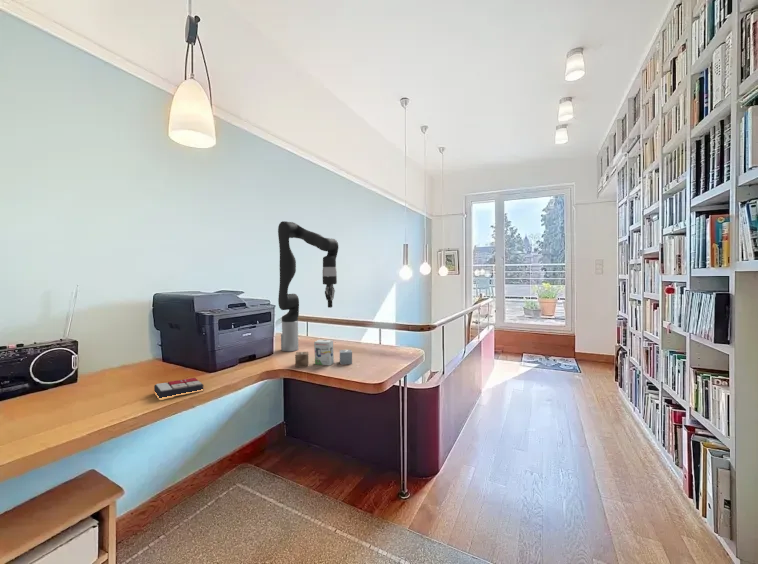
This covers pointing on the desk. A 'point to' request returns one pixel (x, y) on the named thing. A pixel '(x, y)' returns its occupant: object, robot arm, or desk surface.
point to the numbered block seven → (345, 357)
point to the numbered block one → (301, 359)
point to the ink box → (323, 352)
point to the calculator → (177, 387)
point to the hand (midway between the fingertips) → (330, 307)
